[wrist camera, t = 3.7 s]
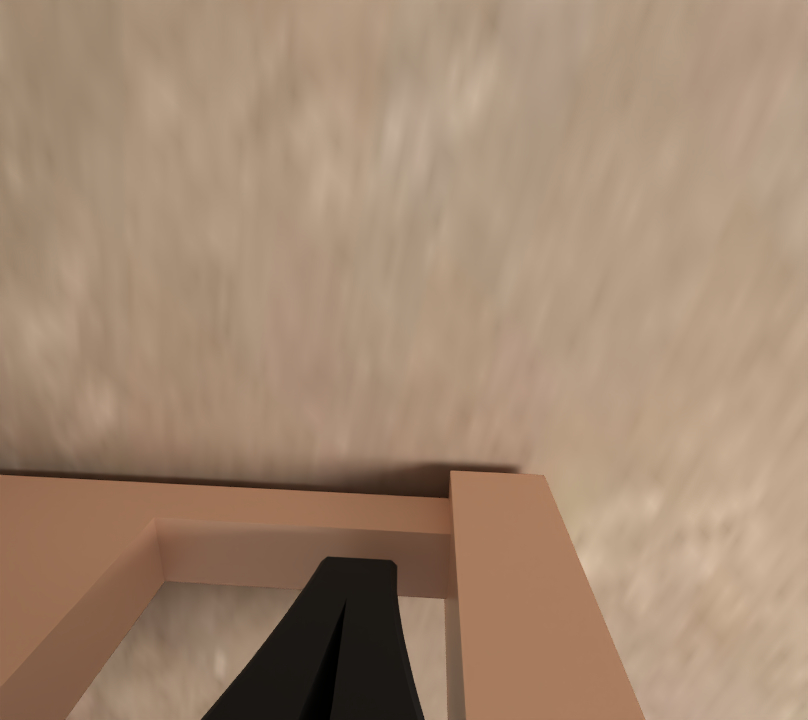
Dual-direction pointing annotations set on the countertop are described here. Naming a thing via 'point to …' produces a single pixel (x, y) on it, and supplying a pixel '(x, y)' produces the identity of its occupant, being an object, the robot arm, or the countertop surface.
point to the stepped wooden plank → (292, 569)
